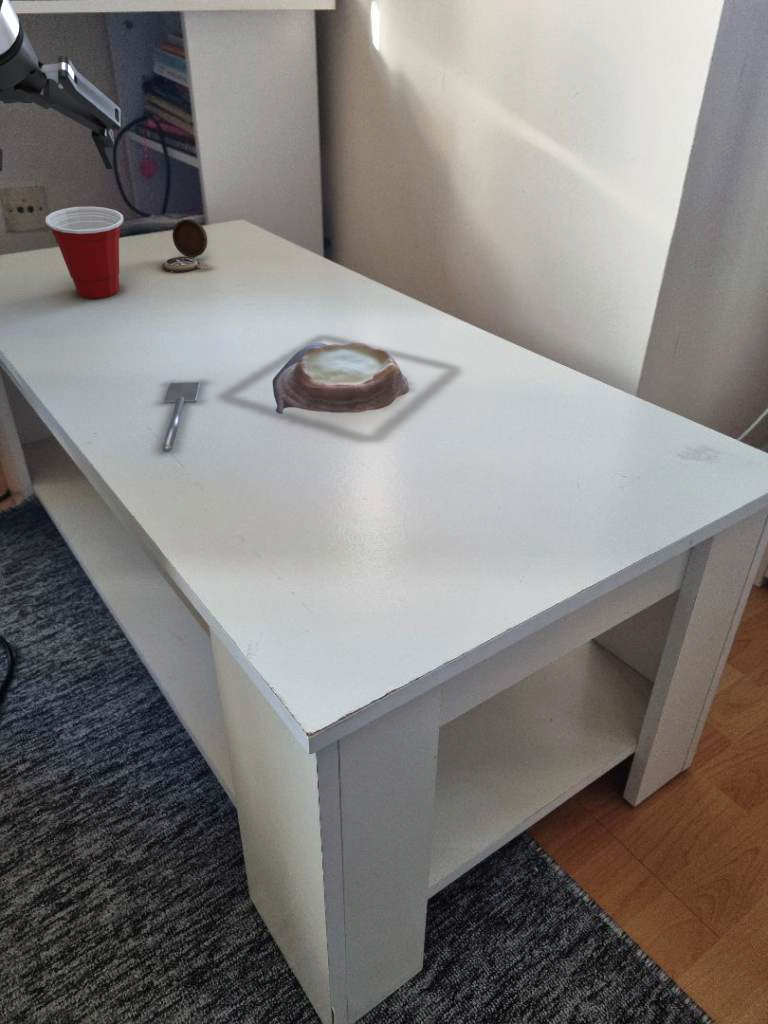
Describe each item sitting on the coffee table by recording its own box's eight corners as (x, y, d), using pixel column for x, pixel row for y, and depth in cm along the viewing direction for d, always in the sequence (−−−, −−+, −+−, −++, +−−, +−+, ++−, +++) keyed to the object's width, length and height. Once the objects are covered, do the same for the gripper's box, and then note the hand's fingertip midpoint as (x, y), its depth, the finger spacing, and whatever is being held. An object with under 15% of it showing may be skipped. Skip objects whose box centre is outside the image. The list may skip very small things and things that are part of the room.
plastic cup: (90, 314, 117) (73, 230, 110) (49, 297, 122) (29, 216, 116) (151, 294, 124) (138, 213, 117) (109, 279, 129) (94, 201, 123)
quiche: (321, 340, 109) (320, 312, 107) (456, 373, 101) (458, 343, 99) (222, 401, 94) (219, 370, 92) (371, 446, 86) (370, 412, 84)
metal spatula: (149, 456, 84) (148, 448, 84) (171, 388, 97) (169, 381, 96) (184, 455, 84) (183, 447, 84) (201, 387, 97) (200, 380, 97)
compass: (155, 273, 132) (148, 228, 127) (179, 259, 138) (173, 215, 134) (199, 278, 130) (193, 232, 125) (221, 264, 136) (216, 219, 132)
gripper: (-149, 65, 79) (-49, 189, 100) (109, 63, 81) (155, 185, 102) (-145, -1, 80) (-47, 134, 101) (109, -1, 82) (154, 132, 103)
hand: (55, 160), depth 102 cm, fingers open, 13 cm apart
